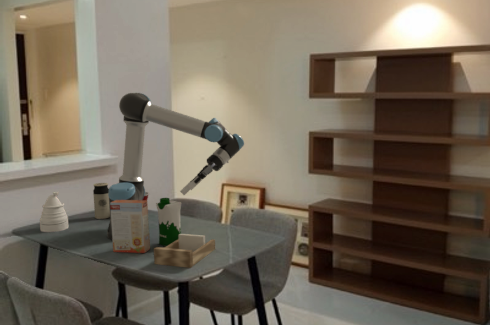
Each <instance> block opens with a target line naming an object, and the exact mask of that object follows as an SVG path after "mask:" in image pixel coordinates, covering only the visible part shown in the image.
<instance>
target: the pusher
mask: <svg viewBox="0 0 490 325" xmlns="http://www.w3.org/2000/svg"><path fill="white" fill-rule="evenodd" d="M204 244H206V235H202V234H200V235H199V234H188V233H181V234H179V249H184V250H192V253H193V252H194V251H196V250H197V249H199V248H200V247H201V246H203V245H204Z"/></svg>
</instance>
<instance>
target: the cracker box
mask: <svg viewBox="0 0 490 325" xmlns="http://www.w3.org/2000/svg"><path fill="white" fill-rule="evenodd" d="M148 206H149V205H148V199H147V200H115V201H113V202H111V203H110V208H111V224H112V239H111V240H112V250H113V252H114V253H129V254H130V253H131V254H132V253H133V254H134V253H135V254H145V253H147V252H148V251H149V250H151V241H150V238H151V237H150V224H149V221H150V220H149V207H148Z"/></svg>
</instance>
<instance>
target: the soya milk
mask: <svg viewBox="0 0 490 325" xmlns="http://www.w3.org/2000/svg"><path fill="white" fill-rule="evenodd" d="M170 199H171V198H169V197H161V198H159V202H156V203H155V206H156V209H157V210H156V211H157V214H158V215H157V218H158V234H159V235H158V239H159V240H158V244H159V245H161V246H164V247H166V246H168V245H170V244H171V243H173V242H175V241H176V240H178V239H179V234H182V227H181V226H182V224H181V223H182V222H181V207H182V202H181V201H175V200H170Z"/></svg>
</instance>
